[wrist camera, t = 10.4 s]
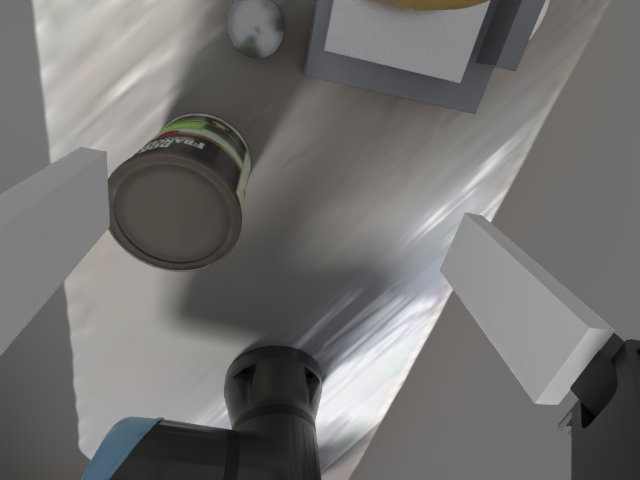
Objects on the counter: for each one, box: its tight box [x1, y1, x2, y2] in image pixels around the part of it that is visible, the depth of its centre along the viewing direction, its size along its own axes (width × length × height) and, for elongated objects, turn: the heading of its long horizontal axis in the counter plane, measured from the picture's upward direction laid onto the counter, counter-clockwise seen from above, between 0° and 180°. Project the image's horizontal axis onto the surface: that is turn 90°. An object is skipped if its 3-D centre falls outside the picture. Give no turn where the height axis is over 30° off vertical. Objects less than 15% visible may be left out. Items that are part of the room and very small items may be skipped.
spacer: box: [227, 0, 284, 58], centre depth 34 cm, size 5×5×3 cm
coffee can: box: [108, 113, 251, 272], centre depth 35 cm, size 10×10×14 cm
